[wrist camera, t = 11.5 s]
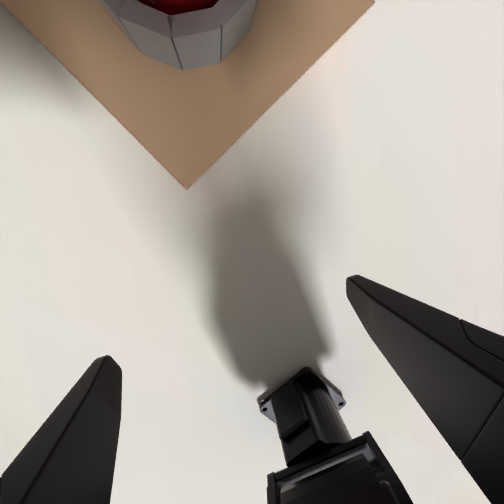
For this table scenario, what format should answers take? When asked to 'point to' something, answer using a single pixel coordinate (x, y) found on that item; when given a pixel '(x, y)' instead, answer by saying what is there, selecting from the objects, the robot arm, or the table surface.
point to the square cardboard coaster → (187, 64)
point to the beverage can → (179, 5)
